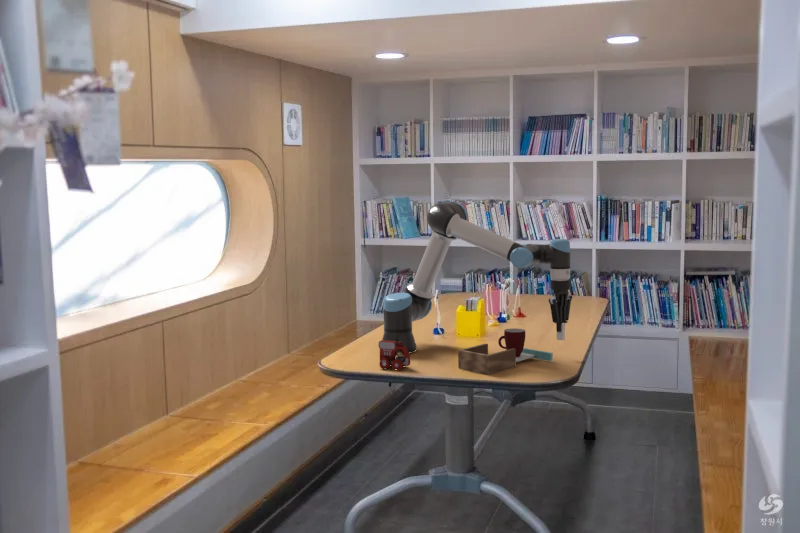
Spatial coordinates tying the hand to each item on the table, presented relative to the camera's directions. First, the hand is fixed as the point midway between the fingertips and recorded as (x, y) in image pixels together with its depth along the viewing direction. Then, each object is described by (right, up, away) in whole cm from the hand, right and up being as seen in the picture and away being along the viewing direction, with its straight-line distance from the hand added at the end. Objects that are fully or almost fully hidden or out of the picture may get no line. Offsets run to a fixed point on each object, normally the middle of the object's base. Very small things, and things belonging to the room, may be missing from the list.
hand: (560, 339), depth 310 cm
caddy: (-30, -9, -12) cm, 33 cm away
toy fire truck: (-65, -10, -9) cm, 66 cm away
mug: (-19, -6, -1) cm, 20 cm away
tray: (-17, -8, -3) cm, 19 cm away
